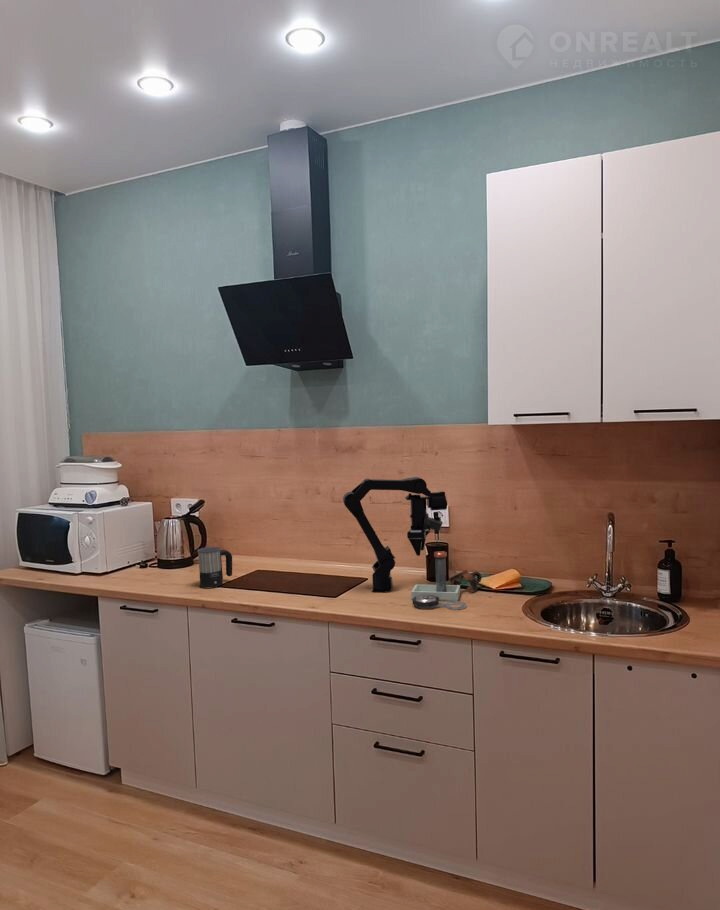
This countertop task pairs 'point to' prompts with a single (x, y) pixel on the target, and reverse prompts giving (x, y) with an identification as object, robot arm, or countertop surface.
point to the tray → (450, 595)
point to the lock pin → (440, 571)
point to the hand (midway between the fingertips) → (420, 552)
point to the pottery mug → (469, 577)
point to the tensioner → (435, 603)
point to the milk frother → (213, 566)
